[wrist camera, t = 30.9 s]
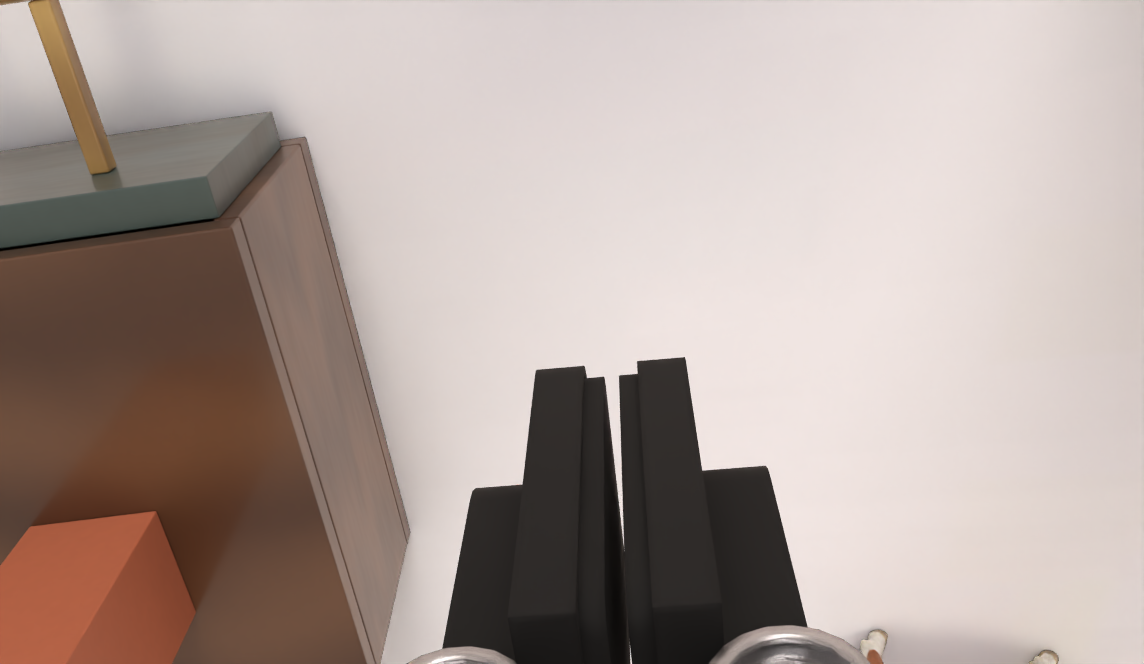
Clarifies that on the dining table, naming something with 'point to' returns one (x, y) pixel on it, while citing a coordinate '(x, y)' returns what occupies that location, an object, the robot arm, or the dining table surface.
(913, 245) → the dining table surface
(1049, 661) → the bull figurine
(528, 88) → the dining table surface
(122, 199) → the drawer
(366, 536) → the cabinet
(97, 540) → the block
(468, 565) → the robot arm
